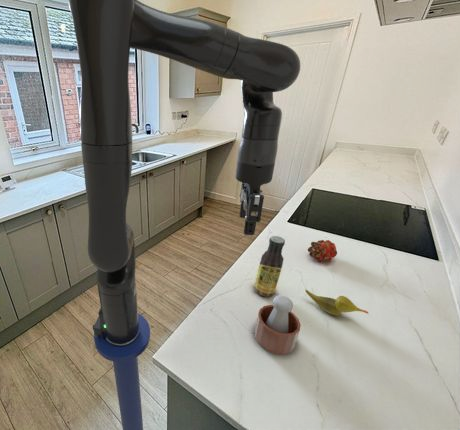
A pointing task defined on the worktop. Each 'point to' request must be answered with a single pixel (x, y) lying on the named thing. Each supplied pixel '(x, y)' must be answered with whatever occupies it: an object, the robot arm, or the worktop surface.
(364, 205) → the worktop surface
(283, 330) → the salt shaker
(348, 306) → the yellow-green tapered piece
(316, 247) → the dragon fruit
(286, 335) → the cup
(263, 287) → the sauce bottle
